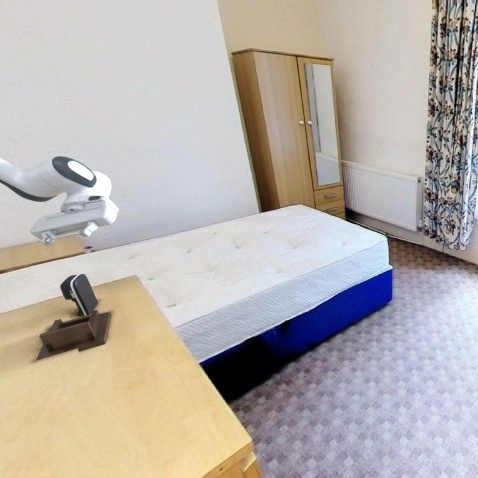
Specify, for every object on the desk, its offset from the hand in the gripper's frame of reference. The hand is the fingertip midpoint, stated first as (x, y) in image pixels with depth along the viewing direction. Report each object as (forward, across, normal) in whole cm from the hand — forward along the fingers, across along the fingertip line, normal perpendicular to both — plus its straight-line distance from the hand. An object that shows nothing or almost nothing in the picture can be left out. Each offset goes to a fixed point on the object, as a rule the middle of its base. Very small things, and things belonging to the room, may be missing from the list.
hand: (65, 239), depth 94 cm
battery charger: (+15, -2, +16) cm, 22 cm away
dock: (+28, +4, +11) cm, 30 cm away
